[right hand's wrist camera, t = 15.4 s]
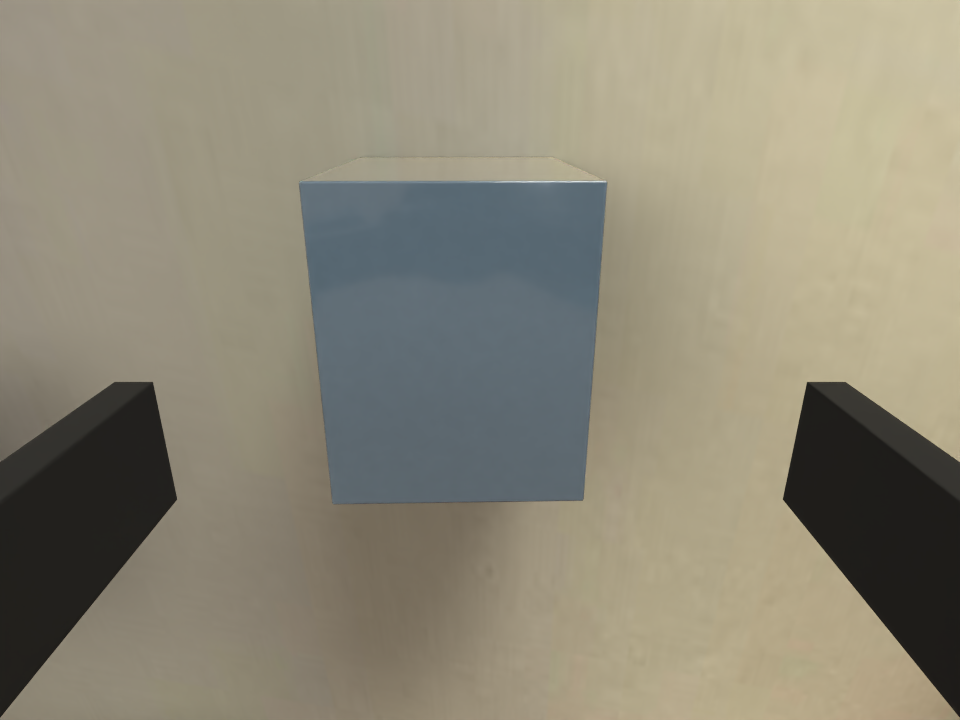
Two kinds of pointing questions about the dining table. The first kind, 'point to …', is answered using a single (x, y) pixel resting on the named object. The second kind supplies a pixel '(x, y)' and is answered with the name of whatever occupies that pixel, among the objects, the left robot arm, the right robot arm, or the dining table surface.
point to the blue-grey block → (455, 325)
